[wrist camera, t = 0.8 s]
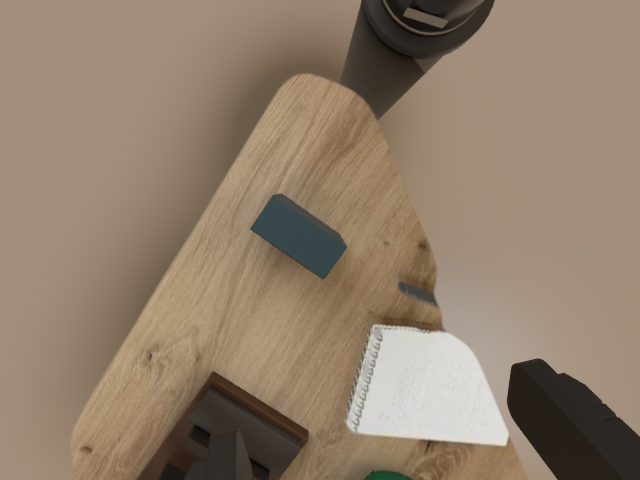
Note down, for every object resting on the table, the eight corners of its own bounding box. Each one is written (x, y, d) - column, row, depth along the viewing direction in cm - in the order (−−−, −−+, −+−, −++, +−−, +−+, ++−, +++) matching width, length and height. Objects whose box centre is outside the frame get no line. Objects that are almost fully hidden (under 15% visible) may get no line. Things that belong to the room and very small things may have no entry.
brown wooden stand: (213, 370, 39) (202, 391, 35) (308, 430, 40) (308, 457, 36) (132, 486, 41) (112, 518, 37) (225, 540, 42) (216, 577, 38)
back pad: (281, 193, 37) (273, 195, 29) (339, 234, 38) (347, 247, 30) (262, 220, 37) (249, 229, 29) (321, 260, 38) (323, 279, 30)
